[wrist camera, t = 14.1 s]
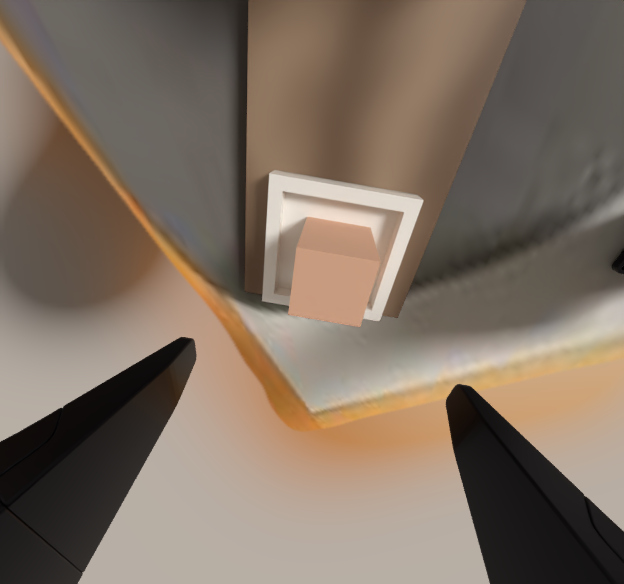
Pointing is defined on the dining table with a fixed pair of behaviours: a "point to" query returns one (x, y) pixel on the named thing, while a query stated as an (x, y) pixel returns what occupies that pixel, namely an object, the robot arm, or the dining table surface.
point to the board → (367, 102)
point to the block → (333, 272)
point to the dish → (341, 208)
